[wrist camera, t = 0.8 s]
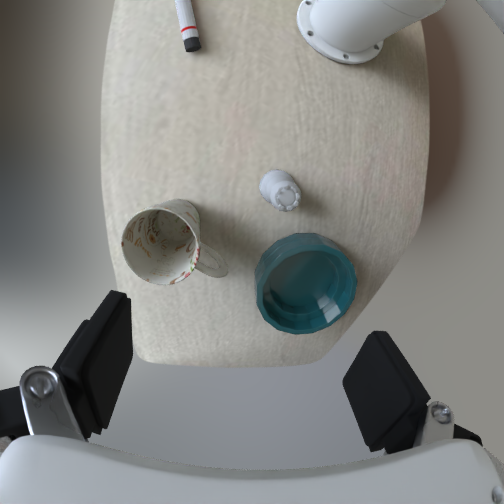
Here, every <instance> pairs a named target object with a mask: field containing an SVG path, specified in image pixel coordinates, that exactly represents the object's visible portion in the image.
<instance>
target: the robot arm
mask: <svg viewBox="0 0 504 504" xmlns="http://www.w3.org/2000/svg"><path fill="white" fill-rule="evenodd" d="M446 1H447V0H303V2H302V3H301V4H300V6H299V9H298V12H297V24H298V27H299V30H300V32H301V34H302V36H303V37H304V38H305V40H306V41H307V42H308V43H309V44H310V45H311V46H312V47H313V48H314V49H315V50H317V51H318V52H319V53H321V54H322V55H324V56H326V57H328V58H329V59H332V60H335V61H337V62H341V63H346V64H360V63H364V62H367V61H369V60H371V59H373V58H374V57H376V56H377V55H378V54H379V52H380V51H381V49H382V46H383V42H384V39H385V38H387V37H388V36H390V35H392V34H394V33H396V32H397V31H399V30H401V29H403V28H405V27H407V26H409V25H411V24H413V23H415V22H417V21H419V20H421V19H423V18H425V17H426V16H429V15H431V14H433V13H435V12H436V11H438V10H440V9H441V8H442V7H443V6H444V4H445V3H446ZM476 1H477V2H478V3H479V4H480V6H481V7H482V8H483V9H484V10H485V11H486V13H487V14H488V15H489V16H490V17H491V19H492V20H493V21H494V22H495V23H496V25H497V26H498V27H499V28H500V30H501V31H502V32H503V34H504V0H476ZM309 35H310V36H309ZM344 57H345V58H344ZM132 356H133V343H132V320H131V299H130V298H127V295H126V293H122V292H118V291H113V290H111V291H110V292H109V294H108V295H107V296H106V298H105V299H104V300H103V302H102V303H101V304H100V306H99V307H98V309H97V310H96V311H95V313H94V314H93V316H92V317H91V319H90V320H84V321H83V322H82V323H81V325H80V326H79V328H78V329H77V331H76V332H75V334H74V335H73V336H72V338H71V339H70V341H69V342H68V344H67V345H66V347H65V348H64V350H63V352H62V353H61V355H60V356H59V358H58V359H57V361H56V363H55V364H54V366H53V367H52V369H51V368H49V367H45V366H35V367H31V368H29V369H28V370H26V371H25V372H24V373H23V375H22V376H21V379H20V386H17V387H13V388H9V389H4V390H0V504H504V464H503V463H502V462H501V461H499V460H498V459H497V458H496V457H494V456H493V455H492V454H491V453H490V452H489V451H487V450H486V449H485V448H483V445H482V442H481V438H480V437H479V436H478V435H476V434H474V433H473V432H470V431H468V430H466V429H464V428H462V427H460V426H458V425H456V424H454V415H453V412H452V411H451V409H450V408H449V407H448V406H447V405H445V404H444V403H442V402H437V401H435V402H432V403H431V404H430V405H429V406H427V404H426V403H427V402H428V401H429V400H430V399H431V398H430V396H429V394H428V393H427V391H426V390H425V388H424V387H423V385H422V383H421V382H420V380H419V379H418V377H417V375H416V374H415V372H414V371H413V369H412V368H411V367H410V365H409V364H408V362H407V360H406V359H405V357H404V356H403V354H402V353H401V351H400V350H399V348H398V347H397V346H396V344H395V343H394V341H393V340H392V338H391V337H390V336H389V334H388V333H387V332H386V331H373V332H372V333H371V334H369V335H368V336H367V338H366V340H365V342H364V344H363V346H362V347H361V349H360V351H359V353H358V354H357V356H356V358H355V360H354V361H353V363H352V365H351V366H350V368H349V370H348V371H347V373H346V375H345V376H344V378H343V387H344V389H345V392H346V395H347V397H348V400H349V402H350V405H351V407H352V410H353V412H354V415H355V418H356V420H357V423H358V426H359V428H360V431H361V433H362V436H363V439H364V442H365V444H366V445H367V446H369V449H370V451H371V452H374V451H378V450H381V449H383V448H385V452H384V455H383V456H381V457H377V458H372V459H367V460H362V461H357V462H351V463H346V464H339V465H332V466H324V467H316V468H315V467H314V468H303V469H287V470H240V469H239V470H238V469H223V468H211V467H202V466H193V465H187V464H180V463H175V462H169V461H163V460H157V459H153V458H148V457H143V456H139V455H135V454H131V453H127V452H123V451H120V450H116V449H112V448H108V447H104V446H101V445H97V444H93V443H89V441H88V439H87V438H90V437H91V433H92V432H93V433H96V434H99V435H100V434H101V431H102V428H104V429H107V427H108V425H109V422H110V419H111V416H112V413H113V410H114V407H115V404H116V402H117V399H118V396H119V393H120V390H121V388H122V385H123V382H124V379H125V376H126V374H127V371H128V369H129V366H130V364H131V361H132Z"/></svg>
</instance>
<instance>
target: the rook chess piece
mask: <svg viewBox="0 0 504 504" xmlns="http://www.w3.org/2000/svg"><path fill="white" fill-rule="evenodd" d="M259 188H260V192H261V195H262V196H263V198H264V199H265V200H266V201H268V202H269V203H271V204H273V206H274V207H275V208H276V209H278V210H280V211H284V212H287V211H292V210H293V209H295V208H296V207H297V206H298V205H299V203H300V201H301V191H300V189H299V187H298V186H297V185H296V184H294V181H293V179H292V177H291V176H290V175H289V174H288V173H286V172H285V171H282V170H272V171H269V172H268V173H266V174H265V175H264V176H263V178H262V179H261V181H260V186H259Z"/></svg>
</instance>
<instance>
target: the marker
mask: <svg viewBox="0 0 504 504" xmlns="http://www.w3.org/2000/svg"><path fill="white" fill-rule="evenodd" d="M175 3H176V8H177V13H178V18H179V23H180V27H181V32H182V37H183V41H184V45H185V49H186V52H194V51H197V50H199V49H200V48H201V45H200V41H199V35H198V31H197V27H196V22H195V18H194V14H193V9H192V5H191V1H190V0H175Z"/></svg>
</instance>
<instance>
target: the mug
mask: <svg viewBox="0 0 504 504" xmlns="http://www.w3.org/2000/svg"><path fill="white" fill-rule="evenodd" d="M121 247H122V252H123V256H124V258H125V261H126V263H127V264H128V266H129V267H130V269H131V270H132V271H133V272H134V273H135V274H136V275H138V276H139V277H140V278H142V279H143V280H145V281H147V282H150V283H153V284H157V285H171V284H175V283H178V282H180V281H182V280H184V279H185V278H186V277H187V276H189V275H190V274H191V272H192V271H193V270H194V268H195V269H197V270H199V271H201V272H202V273H204V274H206V275H208V276H211V277H216V278H221V277H224V276H226V275H227V274H228V271H229V270H228V266H227V264H226V262H225V261H224V259H223V258H222V257H221V256H220V255H219V254H218V253H217V252H216V251H214V250H213V249H212V248H210V247H208V246H207V245H205V244H203V243H201V242H200V218H199V214H198V212H197V210H196V209H195V207H194V206H193V205H192V204H190V203H189V202H187V201H185V200H181V199H173V200H169V201H166V202H163V203H160V204H157V205H154V206H151V207H148V208H145V209H143V210H141V211H139V212H138V213H136V214H135V215H134V216H133V217H132V218H131V219H130V220H129V221H128V222H127V224H126V226H125V228H124V230H123V233H122V239H121ZM200 248H201V249H202V250H204V251H205V252H206V253H208V254H209V255H210V256H211V257H213V258H214V259H215V260H216V261H217V263H218V265H219V268H217V269H214V268H210V267H208V266H206V265H205V264H203V263H201V262H199V261H198V259H199V254H200Z"/></svg>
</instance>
